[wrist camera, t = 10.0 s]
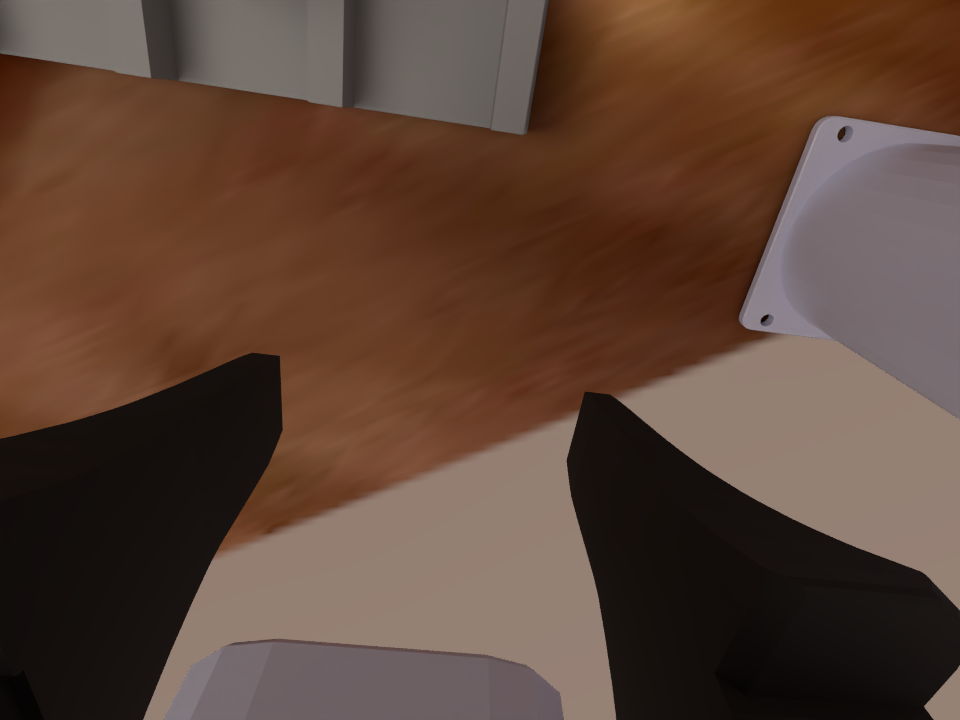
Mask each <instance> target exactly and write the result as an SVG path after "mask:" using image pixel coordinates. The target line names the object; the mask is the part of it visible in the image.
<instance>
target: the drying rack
mask: <svg viewBox="0 0 960 720" xmlns="http://www.w3.org/2000/svg"><path fill="white" fill-rule="evenodd" d="M548 3H549V0H0V53H2V54H9V55H15V56H22V57H28V58H35V59H41V60H48V61H55V62H61V63H68V64H74V65H81V66H87V67H94V68H100V69H107V70H113V71H115V73H122V74H129V75H135V76H142V77H148V78H157V79H168V80H178V81H185V82H192V83H198V84H205V85H211V86H218V87H224V88H231V89H237V90H244V91H250V92H257V93H263V94H270V95H276V96H283V97H289V98H296V99H302V100H308V102H311V103H318V104H325V105H331V106H338V107H355V108H361V109H368V110H374V111H381V112H387V113H394V114H400V115H407V116H413V117H420V118H426V119H433V120H439V121H446V122H452V123H459V124H466V125H472V126H479V127H485V128H490V129H491V130H494V131H501V132H507V133H514V134H521V135H524V134H527V130H528V124H529V118H530V112H531V106H532V100H533V94H534V88H535V82H536V76H537V70H538V64H539V57H540V51H541V45H542V39H543V33H544V27H545V21H546V15H547V9H548Z"/></svg>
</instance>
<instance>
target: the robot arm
mask: <svg viewBox="0 0 960 720" xmlns="http://www.w3.org/2000/svg"><path fill="white" fill-rule="evenodd" d="M843 127H845V129H846V132H845V136H844V137H843V138H842V139H841V140H840V141H839V140H838V138H837V136H838V132H839V131H840V129H841V128H843ZM767 314H769V316H768V319H767V320H766V321H764V322H761V319H762V317H763V316H765V315H767ZM739 321H740V323H741V324H742V325H743V326H744V327H745V328H747V329H750V330H758V331H765V332H773V333H781V334H788V335H796V336H804V337H812V338H819V339H827V340H835V341H838V342H840V343H841V344H843V345H844V346H846V347H847V348H849V349H851V350H852V351H854V352H855V353H857V354H858V355H860V356H861V357H863V358H865V359H866V360H868V361H869V362H871V363H872V364H874V365H876V366H877V367H879V368H880V369H882V370H883V371H885V372H886V373H888V374H889V375H891V376H893V377H894V378H896V379H897V380H899V381H900V382H902V383H903V384H905V385H907V386H908V387H910V388H911V389H913V390H914V391H916V392H918V393H919V394H921V395H922V396H924V397H925V398H927V399H928V400H930V401H931V402H933V403H935V404H936V405H938V406H939V407H941V408H943V409H944V410H946V411H947V412H949V413H950V414H952V415H954V416H955V417H956V418H958V419H960V136H957V135H951V134H945V133H939V132H933V131H926V130H920V129H914V128H908V127H902V126H896V125H890V124H883V123H877V122H871V121H865V120H859V119H853V118H847V117H841V116H825V117H823V118H821V119H820V120H819V121H818V122H817V123H815V125H814V127H813V129H812V131H811V133H810V136H809V138H808V141H807V144H806V146H805V149H804V151H803V154H802V156H801V159H800V161H799V164H798V166H797V169H796V172H795V174H794V177H793V179H792V182H791V184H790V187H789V189H788V192H787V195H786V197H785V200H784V202H783V205H782V207H781V210H780V212H779V215H778V218H777V220H776V223H775V225H774V228H773V230H772V233H771V235H770V238H769V240H768V243H767V246H766V248H765V251H764V253H763V256H762V258H761V261H760V263H759V266H758V269H757V271H756V274H755V276H754V279H753V281H752V284H751V286H750V289H749V291H748V294H747V297H746V299H745V302H744V304H743V307H742V309H741V312H740V315H739ZM760 322H761V323H760ZM282 430H283V427H282V402H281V377H280V356H276V355H267V354H259V353H251V354H247V355H244V356H242V357H239V358H237V359H234V360H232V361H230V362H227V363H225V364H223V365H221V366H218V367H216V368H214V369H212V370H209V371H207V372H205V373H203V374H200V375H198V376H196V377H194V378H191V379H189V380H187V381H184V382H182V383H180V384H177V385H175V386H172V387H170V388H167V389H165V390H162V391H160V392H157V393H155V394H152V395H150V396H147V397H145V398H142V399H140V400H137V401H135V402H132V403H129V404H126V405H124V406H121V407H118V408H115V409H112V410H109V411H105V412H102V413H99V414H96V415H92V416H89V417H86V418H83V419H79V420H76V421H72V422H69V423H65V424H61V425H56V426H52V427H48V428H44V429H40V430H36V431H32V432H28V433H24V434H20V435H16V436H12V437H7V438H2V439H0V720H143V719H144V716H145V713H146V711H147V708H148V705H149V703H150V701H151V698H152V696H153V693H154V691H155V689H156V686H157V684H158V681H159V679H160V676H161V674H162V671H163V669H164V666H165V664H166V662H167V659H168V657H169V654H170V651H171V649H172V647H173V645H174V643H175V640H176V638H177V636H178V633H179V631H180V629H181V627H182V624H183V622H184V620H185V617H186V615H187V613H188V611H189V608H190V606H191V604H192V602H193V599H194V597H195V595H196V593H197V591H198V589H199V587H200V584H201V582H202V580H203V578H204V575H205V574H206V571H207V569H208V567H209V565H210V563H211V561H212V559H213V557H214V556H215V554H216V552H217V550H218V548H219V546H220V544H221V543H222V541H223V539H224V538H225V536H226V535H227V533H228V531H229V530H230V528H231V526H232V525H233V523H234V521H235V520H236V518H237V516H238V515H239V513H240V511H241V510H242V508H243V506H244V505H245V503H246V501H247V500H248V498H249V497H250V495H251V493H252V492H253V490H254V488H255V487H256V485H257V483H258V481H259V480H260V478H261V476H262V475H263V473H264V471H265V470H266V468H267V466H268V464H269V462H270V459H271V457H272V455H273V453H274V450H275V448H276V445H277V443H278V440H279V438H280V435H281V433H282ZM567 467H568V476H569V484H570V491H571V497H572V501H573V505H574V508H575V512H576V516H577V519H578V523H579V526H580V530H581V533H582V537H583V541H584V544H585V547H586V551H587V555H588V558H589V562H590V565H591V569H592V572H593V576H594V580H595V584H596V588H597V592H598V597H599V603H600V609H601V614H602V620H603V627H604V632H605V639H606V645H607V652H608V659H609V666H610V673H611V679H612V687H613V695H614V703H615V711H616V720H933V718H932V717H931V716H930V714H929V713H928V712H927V711H926V709H925V708H924V705H926V703H927V702H928V701H929V700H930V699H931V698H932V697H933V695H934V694H935V693H936V692H937V691H938V690H939V689H940V688H941V687H942V685H943V684H944V683H945V682H946V681H947V680H948V679H949V678H950V676H951V675H952V674H953V673H954V672H955V671H956V670H957V668H958V667H959V665H960V610H959V609H958V608H957V607H956V606H955V605H954V604H953V603H952V602H951V601H950V600H949V599H948V598H947V597H946V595H944V593H943V592H941V590H940V589H939V588H938V587H937V586H936V585H935V584H934V583H933V582H932V581H931V580H930V579H929V578H928V577H927V576H926V575H925V574H923V573H922V572H920V571H918V570H915V569H912V568H909V567H907V566H904V565H902V564H899V563H896V562H894V561H891V560H888V559H886V558H883V557H880V556H878V555H875V554H872V553H870V552H867V551H864V550H861V549H859V548H856V547H854V546H851V545H849V544H846V543H844V542H842V541H840V540H837V539H835V538H833V537H830V536H828V535H826V534H824V533H821V532H819V531H817V530H815V529H812V528H810V527H808V526H806V525H803V524H802V523H799V522H798V521H795V520H793V519H791V518H789V517H787V516H785V515H783V514H781V513H780V512H778V511H776V510H774V509H772V508H770V507H768V506H766V505H764V504H763V503H761V502H758V501H757V500H755V499H753V498H751V497H750V496H748V495H746V494H745V493H743V492H741V491H739V490H738V489H736V488H735V487H733V486H731V485H730V484H728V483H727V482H725V481H723V480H722V479H720V478H719V477H717V476H715V475H714V474H712V473H711V472H709V471H708V470H706V469H705V468H703V467H702V466H700V465H699V464H698V463H696V462H695V461H694V460H692V459H691V458H689V457H688V456H687V455H685V454H684V453H683V452H681V451H680V450H679V449H677V448H676V447H675V446H674V445H672V444H671V443H670V442H668V441H667V440H666V439H665V438H663V437H662V436H661V435H660V434H658V433H657V432H656V431H655V430H654V429H652V428H651V427H650V426H649V425H648V424H646V423H645V422H644V421H643V420H642V419H640V418H639V417H638V416H637V415H636V414H634V413H633V412H632V411H631V410H630V409H628V408H627V407H626V406H624V405H623V404H622V403H621V402H620V401H618V400H617V399H616V398H614V397H613V396H611V395H609V394H601V393H592V392H585V393H584V397H583V401H582V405H581V408H580V412H579V416H578V420H577V424H576V427H575V431H574V435H573V439H572V442H571V446H570V450H569V454H568V457H567ZM164 720H564V718H563V712H562V704H561V697H560V693H559V692H558V691H557V690H556V689H555V688H554V687H552V686H551V685H550V684H549V683H548V682H547V681H546V680H544V679H543V678H542V677H541V676H540V675H539V674H537V673H536V672H535V671H534V670H533V669H531V668H530V667H528V666H527V665H523V664H519V663H516V662H512V661H508V660H504V659H500V658H496V657H493V656H488V655H481V654H468V653H454V652H441V651H429V650H415V649H403V648H390V647H378V646H364V645H350V644H339V643H325V642H313V641H299V640H287V639H270V640H259V641H248V642H237V643H232V644H229V645H226V646H224V647H222V648H220V649H219V650H217V651H215V652H214V653H212V654H210V655H209V656H207V657H205V658H204V659H202V660H200V661H199V662H197V663H195V664H193V665H192V666H191V667H190V669H189V671H188V673H187V675H186V677H185V679H184V681H183V683H182V685H181V687H180V689H179V690H178V693H177V694H176V696H175V698H174V700H173V702H172V704H171V706H170V708H169V710H168V712H167V714H166V716H165V718H164Z"/></svg>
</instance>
